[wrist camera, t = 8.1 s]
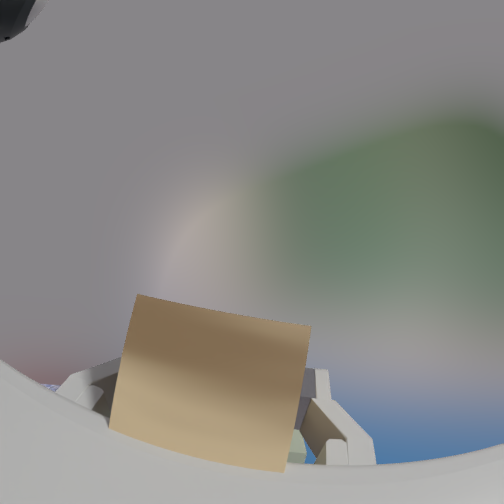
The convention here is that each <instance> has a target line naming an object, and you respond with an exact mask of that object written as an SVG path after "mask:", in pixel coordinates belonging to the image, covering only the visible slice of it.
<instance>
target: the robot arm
mask: <svg viewBox="0 0 504 504" xmlns="http://www.w3.org/2000/svg"><path fill="white" fill-rule="evenodd" d="M48 1H49V0H0V42H3V41H7V40H10V39H12V38H13V37H15V36H16V35H18V34H19V33H21V32H22V31H24V30H25V29H26V28H27V27H28V25H29V24H30V23H31V22H32V21H33V20H34V18H36V17H37V16H38V15H39V13H40V12H41V11H42V9H43V8H44V7H45V5H46V4H47V2H48ZM120 363H121V358H117V359H115V360H112V361H109V362H107V363H103V364H101V365H98V366H95V367H92V368H89V369H86V370H83V371H80V372H77V373H74V374H71V375H70V376H69V377H68V379H67V380H66V381H65V382H64V383H63V384H62V385H61V386H60V388H59V389H58V390H57V391H56V392H54V391H52V390H50V389H48V388H46V387H44V386H43V385H41V384H39V383H37V382H36V381H34V380H32V379H30V378H29V377H27V376H25V375H24V374H22V373H21V372H19V371H17V370H16V369H14V368H13V367H11V366H10V365H8V364H7V363H5V362H4V361H2V360H1V359H0V504H504V444H499V445H496V446H493V447H489V448H485V449H482V450H477V451H474V452H469V453H464V454H460V455H455V456H450V457H444V458H438V459H431V460H424V461H416V462H407V463H397V464H396V463H395V464H380V465H376V459H375V452H374V446H373V440H372V438H371V437H370V436H369V435H368V434H367V433H366V432H365V431H364V430H363V429H362V428H361V427H360V426H359V425H358V424H357V423H356V422H355V421H354V420H353V419H352V418H351V417H350V416H349V415H348V414H347V413H346V412H345V410H344V409H343V408H342V407H341V406H340V405H339V404H338V403H337V402H336V401H335V400H331V394H330V393H331V392H330V383H329V373H328V371H327V370H326V369H312V368H305V371H304V377H303V383H302V389H301V394H300V400H299V405H298V411H297V416H296V421H295V426H294V429H296V430H299V431H300V433H301V434H302V436H303V438H304V439H305V441H306V442H307V444H308V446H309V447H310V449H311V450H312V452H313V454H314V455H315V457H316V458H317V459H316V461H315V463H314V464H303V463H291V462H287V463H286V467H285V472H284V473H280V472H271V471H263V470H256V469H250V468H244V467H238V466H232V465H227V464H222V463H218V462H213V461H208V460H204V459H200V458H196V457H192V456H188V455H185V454H181V453H177V452H174V451H171V450H167V449H164V448H161V447H158V446H155V445H152V444H149V443H146V442H143V441H140V440H137V439H134V438H132V437H129V436H126V435H124V434H121V433H119V432H116V431H114V430H111V429H109V422H110V416H111V410H112V404H113V398H114V393H115V387H116V382H117V377H118V372H119V367H120Z"/></svg>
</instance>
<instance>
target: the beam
mask: <svg viewBox="0 0 504 504" xmlns="http://www.w3.org/2000/svg"><path fill="white" fill-rule="evenodd" d="M310 332H311V326H305V325H299V324H292V323H285V322H279V321H273V320H266V319H260V318H254V317H248V316H243V315H237V314H231V313H225V312H221V311H215V310H210V309H205V308H200V307H194V306H190V305H185V304H180V303H176V302H171V301H166V300H162V299H157V298H153V297H148V296H144V295H140V294H137V297H136V301H135V305H134V308H133V312H132V316H131V320H130V324H129V328H128V332H127V336H126V340H125V345H124V349H123V353H122V358H121V363H120V367H119V372H118V377H117V382H116V387H115V393H114V398H113V404H112V410H111V416H110V422H109V429H111V430H114V431H116V432H119V433H121V434H124V435H126V436H129V437H132V438H134V439H137V440H140V441H143V442H146V443H149V444H152V445H155V446H158V447H161V448H164V449H167V450H171V451H174V452H177V453H181V454H185V455H188V456H192V457H196V458H200V459H204V460H208V461H213V462H218V463H222V464H227V465H232V466H238V467H244V468H250V469H256V470H263V471H271V472H280V473H284V472H285V467H286V463H287V459H288V454H289V450H290V445H291V440H292V436H293V431H294V426H295V421H296V416H297V411H298V405H299V400H300V394H301V389H302V383H303V377H304V371H305V365H306V359H307V352H308V346H309V338H310Z"/></svg>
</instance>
